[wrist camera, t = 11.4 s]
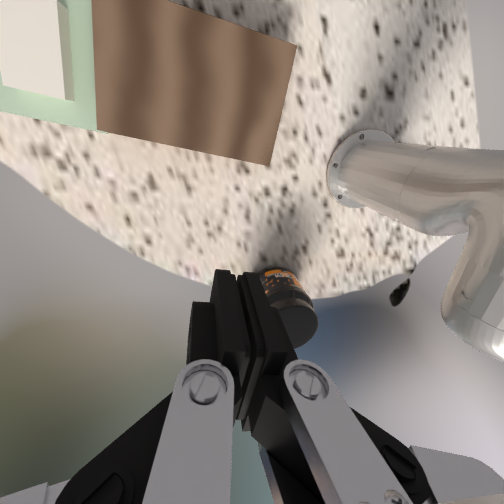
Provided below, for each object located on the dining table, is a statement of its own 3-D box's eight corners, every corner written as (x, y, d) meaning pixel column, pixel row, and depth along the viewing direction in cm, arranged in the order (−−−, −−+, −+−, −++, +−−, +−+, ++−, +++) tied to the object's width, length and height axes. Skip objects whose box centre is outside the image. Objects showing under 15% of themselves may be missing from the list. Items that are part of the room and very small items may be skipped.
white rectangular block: (-16, -24, 24) (2, -11, 26) (2, 85, 28) (17, 88, 30) (56, -1, 25) (68, 9, 28) (65, 99, 29) (74, 101, 31)
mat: (104, -14, 27) (103, -15, 27) (108, 133, 34) (107, 133, 33) (-31, -60, 24) (-34, -62, 24) (0, 111, 31) (-2, 111, 30)
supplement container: (305, 270, 50) (333, 309, 39) (285, 311, 54) (305, 356, 43) (257, 258, 47) (273, 297, 36) (239, 303, 51) (249, 349, 40)
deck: (287, 54, 33) (297, 45, 30) (263, 162, 39) (269, 166, 35) (104, -8, 28) (90, -27, 24) (107, 129, 33) (96, 129, 30)
